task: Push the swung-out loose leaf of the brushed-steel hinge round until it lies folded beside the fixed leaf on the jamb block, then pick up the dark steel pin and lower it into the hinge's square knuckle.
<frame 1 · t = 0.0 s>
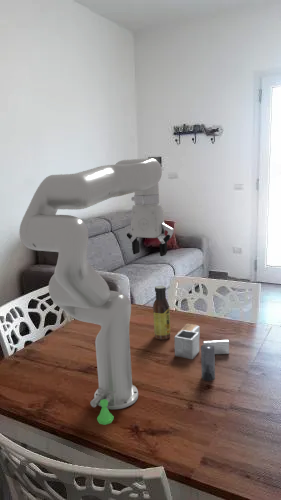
hand: (149, 254, 128), 37 cm above the table, tool pointing down, fingers open, 9 cm apart
pin: (208, 377, 124), on the table
game piece: (105, 420, 106), on the table
hinge base: (187, 353, 140), on the table
leaf loose: (216, 347, 138), point 2 cm above the table, hinge at -60.0°
sauce bottle: (162, 337, 154), on the table
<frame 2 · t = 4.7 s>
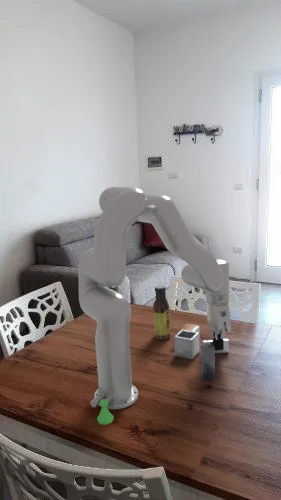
hand: (218, 349, 136), 3 cm above the table, tool pointing down, fingers closed
leaf loose: (216, 346, 138), point 2 cm above the table, hinge at -56.1°, touching gripper
everything else where it was.
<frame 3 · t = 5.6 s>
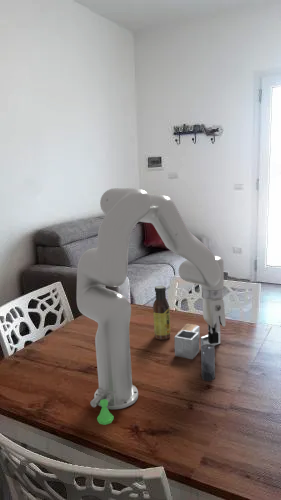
hand: (213, 342, 141), 3 cm above the table, tool pointing down, fingers closed
leaf loose: (210, 340, 143), point 2 cm above the table, hinge at -25.4°, touching gripper
everything else where it was.
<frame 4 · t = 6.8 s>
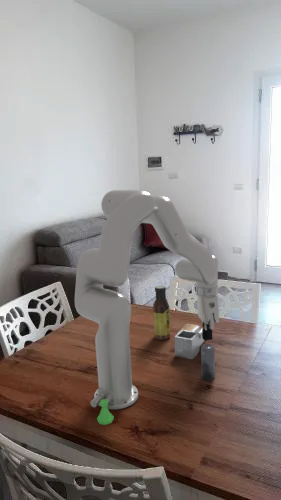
hand: (207, 339, 145), 2 cm above the table, tool pointing down, fingers closed
leaf loose: (201, 336, 147), point 2 cm above the table, hinge at 0.2°, touching gripper
everything else where it was.
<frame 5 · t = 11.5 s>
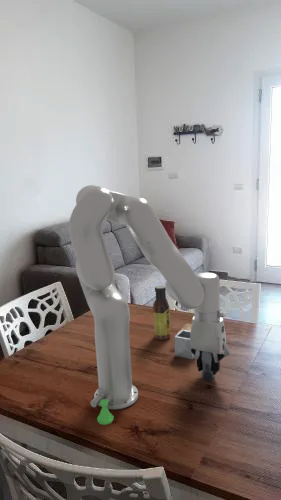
hand: (208, 370, 123), 2 cm above the table, tool pointing down, fingers closed on pin, 4 cm apart
pin: (208, 377, 124), on the table, touching gripper
leaf loose: (201, 336, 147), point 2 cm above the table, hinge at 0.2°
everything else where it was.
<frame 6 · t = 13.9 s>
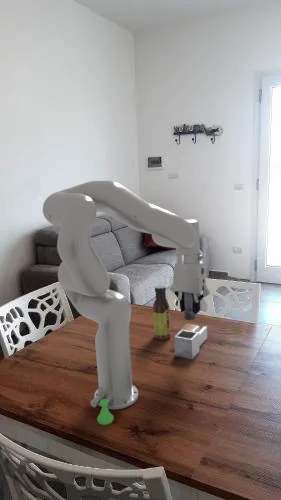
hand: (190, 311, 133), 17 cm above the table, tool pointing down, fingers closed on pin, 4 cm apart
pin: (190, 317, 134), point 14 cm above the table, touching gripper
everything else where it was.
when the fingers open (8 cm above the table, at t = 16.1 s): pin drops 5 cm, resting in hinge base.
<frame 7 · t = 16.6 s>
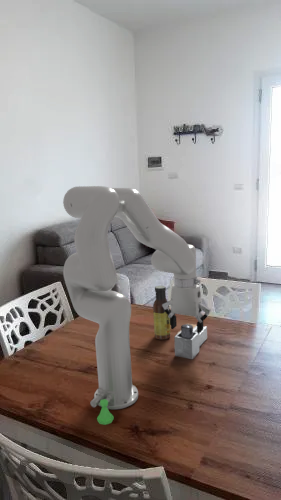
hand: (186, 329, 138), 9 cm above the table, tool pointing down, fingers open, 9 cm apart
pin: (187, 353, 140), resting in hinge base
everything else where it was.
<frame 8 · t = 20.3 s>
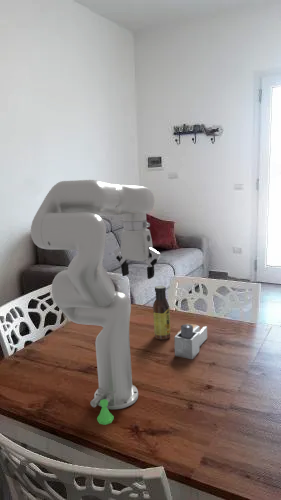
hand: (137, 276, 135), 28 cm above the table, tool pointing down, fingers open, 9 cm apart
nothing on the table moved.
at the end: leaf loose at +0° (first picture: -60°); pin 0.1 cm off-centre on the hinge base, point 0.0 cm above the hinge base's base; pin tilted 0° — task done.
